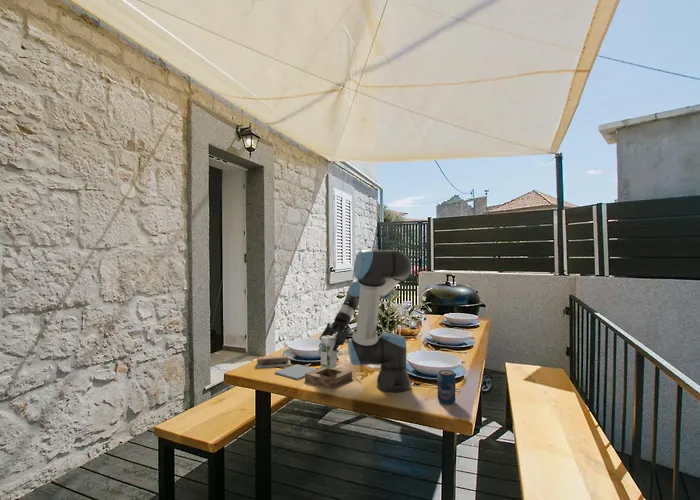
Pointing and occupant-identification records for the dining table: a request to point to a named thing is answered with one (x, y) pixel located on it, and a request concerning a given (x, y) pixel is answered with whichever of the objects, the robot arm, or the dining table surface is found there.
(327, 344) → the syrup box
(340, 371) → the walnut holder
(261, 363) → the packaged product
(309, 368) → the slate pad
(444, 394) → the soda can
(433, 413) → the dining table surface
